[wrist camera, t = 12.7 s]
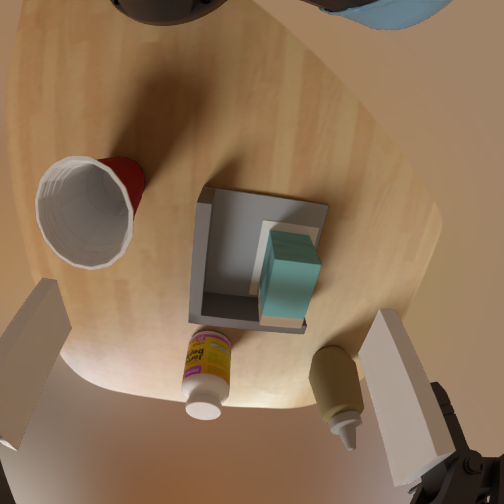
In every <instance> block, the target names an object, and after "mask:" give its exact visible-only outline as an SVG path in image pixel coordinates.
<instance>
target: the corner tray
mask: <svg viewBox="0 0 504 504" xmlns="http://www.w3.org/2000/svg"><path fill="white" fill-rule="evenodd" d="M328 207H329V206H328V205H325V204H319V203H314V202H308V201H302V200H295V199H289V198H283V197H276V196H270V195H263V194H256V193H249V192H242V191H234V190H227V189H219V188H211V187H203V188H202V191H201V193H200V196H199V198H198V201H197V207H196V218H195V229H194V241H193V254H192V268H191V283H190V301H189V321H188V323H194V324H202V325H210V326H219V327H227V328H236V329H246V330H256V331H267V332H279V333H292V334H304V333H305V330H306V327H307V324H306V320H305V318H304V321H303V324H302V326H301V329H300V328H287V327H275V326H264V325H260V323H259V308H258V293H257V289H258V285H259V280H260V275H261V270H262V265H263V260H264V255H265V251H266V246H267V241H268V236H269V231H270V230H274V231H281V232H289V233H296V234H303V235H309V236H310V238H311V241H312V243H313V245H314V248H315V250H316V251H317V247H318V244H319V240H320V237H321V233H322V230H323V226H324V222H325V218H326V215H327V211H328Z"/></svg>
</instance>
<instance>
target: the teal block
mask: <svg viewBox="0 0 504 504" xmlns="http://www.w3.org/2000/svg"><path fill="white" fill-rule="evenodd" d="M320 268H321V263H320V260H319V258H318V255H317V253H316V250H315V248H314V245H313V243H312V241H311V238H310V236H309V235H303V234H296V233H289V232H281V231H274V230H270V231H269V236H268V241H267V246H266V251H265V255H264V260H263V265H262V270H261V275H260V280H259V285H258V289H257V293H258V308H259V323H260V325H264V326H275V327H287V328H300V329H301V326H302V324H303V321H304V318H305V315H306V312H307V309H308V306H309V303H310V300H311V297H312V293H313V290H314V287H315V284H316V281H317V278H318V275H319V271H320Z"/></svg>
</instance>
